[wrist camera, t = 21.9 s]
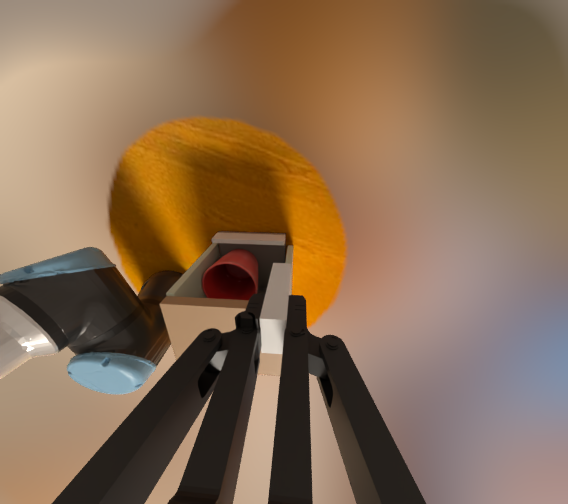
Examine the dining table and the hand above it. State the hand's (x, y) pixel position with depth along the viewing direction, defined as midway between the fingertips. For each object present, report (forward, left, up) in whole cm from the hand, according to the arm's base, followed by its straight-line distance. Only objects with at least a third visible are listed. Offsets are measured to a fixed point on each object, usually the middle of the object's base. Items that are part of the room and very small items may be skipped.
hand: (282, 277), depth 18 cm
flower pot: (-11, -14, -27) cm, 33 cm away
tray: (-9, -14, -28) cm, 33 cm away
